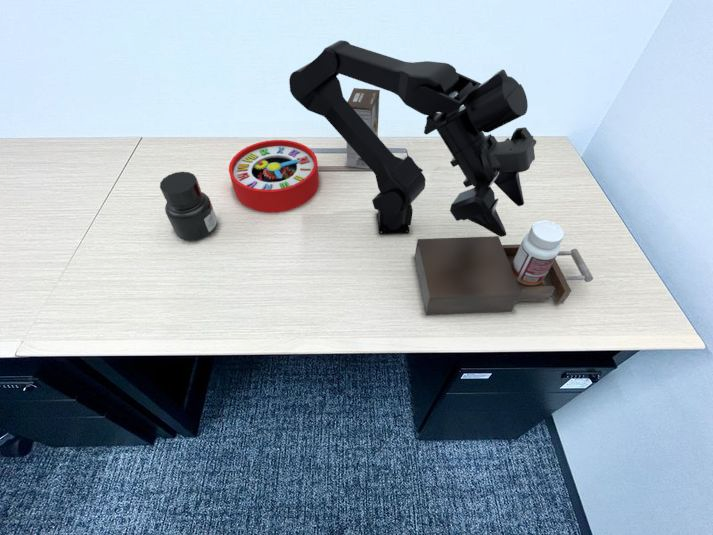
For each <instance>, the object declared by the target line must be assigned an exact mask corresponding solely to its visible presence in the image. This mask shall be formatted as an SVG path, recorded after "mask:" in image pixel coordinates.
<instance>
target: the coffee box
mask: <svg viewBox="0 0 713 535" xmlns="http://www.w3.org/2000/svg"><path fill="white" fill-rule="evenodd" d="M380 91H381V90H380V89H371V88H358V87H353V89H352V91H351V93H350V96H349V98H348V100H347V102H348V103H349V105H350V106H351V107H352V108H353V109H354V110H355V111H356V113H357V114H358V115H359V116H360V117H361V118H362V119H363V121H364V122H365V123H366V124H367V125H368V126H369V128H370V129H371V130H372V131H373V132H374V133H375V134H376V136H377V137H378V138H379V114H380V93H381V92H380ZM346 166H347V167H350V168H359V169H367V170H371V169H370V168H369V166H368V165H367V164H366V163H365V162H364V161H363V160H362V159H361V157H360V156H359V155H358V154H357V153H356V152H355V151H354V150H353V148H352V147H351V146H350V145H349V144H348V143H347V142H346Z"/></svg>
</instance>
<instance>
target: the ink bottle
mask: <svg viewBox="0 0 713 535" xmlns="http://www.w3.org/2000/svg"><path fill="white" fill-rule="evenodd" d="M159 188H160V190H161V193H162V195H163V198H164V199H165V201H166V203H165V206H164V212H165V214H166V217H167V218H168V221H169V223H170V226H171V227H172V229H173V231H174V233H175V235H176V236H177V237H178V238H179V239H181V240H182V241H186V242H196V241H197V242H198V241H200V240H204V239H207V238H208V237H210V236H211V235H212V234H214V233H215V231H216V230H217V228H218V224H219V222H218V219H217V215H216V213H215V210H214V206H213V204H212V202H211V199H210V197H209V196H208V195H207V194H206V193H205V192H203V191H202V189H201V186H200V184H199V181H198V178H197V176H196V175H195V174H194V173H191V172H190V171H178V172H174V173H171V174H170V173H169V174H168V175H167V176H165V177H164V178H162V179H161V181H160V182H159Z"/></svg>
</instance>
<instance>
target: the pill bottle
mask: <svg viewBox="0 0 713 535" xmlns="http://www.w3.org/2000/svg"><path fill="white" fill-rule="evenodd" d="M564 237H565V232H564V229H563V228H562V227H561V226H560V225H559V224H558V223H556V222H553V221H550V220H547V219H546V220H545V219H543V220H537V221H535V222H534V223H533V224H532V225H531V228H530V229H529V231H528V233H526V234H525V235H524V236H523V238H522V240H521V242H520V244H521V245H520V247H519V249H518V252H517V254H516V256H515V258H514V260H513V263H512V265H511V269H512V271H513V274H514V276H515V279H516V280H517V281H518V282H520V283H522V284H524V285H531V286H532V285H537V284H539V283H541V282H542V281H543V282H544V280H545V276H546V274H547V273H548V271H549V269H550V267H551V265H552V264H553V262H554V260H555V259H556V258H557V257H558V256H557V255H558V253H559V251H561V250H560V249H561V243H562V241H563V239H564Z"/></svg>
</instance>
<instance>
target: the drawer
mask: <svg viewBox="0 0 713 535" xmlns="http://www.w3.org/2000/svg"><path fill="white" fill-rule="evenodd" d="M520 245H521V243H520V244H502V246H503V249H504V251H505V254H506V256H507V259H508V261H509V264H510V266H511V265H512V263H513V260H514V258H515V256H516V254H517V252H518V249H519V247H520ZM558 256H560V257H562V256H570V257H571V258H572V260H573V262H574V264H575V265H576V268H577V269H578V271H579V273H580V274H581V275H565V274H564V273H563V271H562V270H561V267H560V265H559V263H558V261H557V259H556V258H555V260H554V262H553V264H552V265H551V267H550V269H549V271H548V273H547V274H546V276H545V278H544V280H545V282H546V284H547V285H545V284H544V280H543V281H542V282H541V283H539V284H537V285H532V286H531V285H524V284H522V283H520V282H518V281H517V280H516V281H517V283H518V286H519V288H520V291H521V295H520V296H519V298H518V300H517V302H537V301H539V302H540V301H549V300H550V298H551V297H553V299H554V302H555V304H556V305H563V304H564V303H565V302H566V301H567V299H568V297H569V296H570V294H571V293H572V289H571V287H570V285H569V283H568V281H569V282H570V281H584V282H586V283H590V282H592V281H593V280H594V277H593V275H592V273H591V271H590V269H589V267H588V266H587V264H586V262H585V261H584V259H583V257H582V255H581V253H580V252H579V250H578V249H577V248H572V249H570V250H560V251H559V253H558V255H557V257H558Z"/></svg>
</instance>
